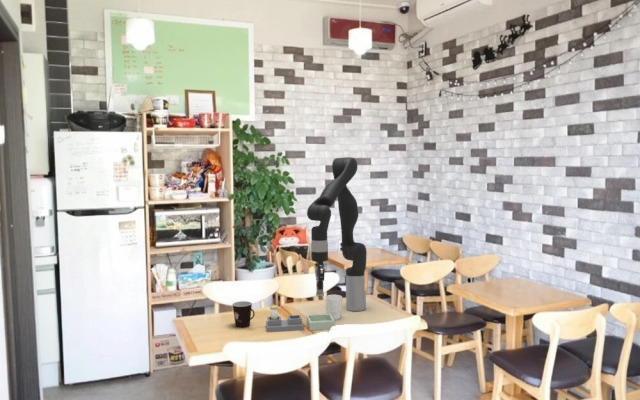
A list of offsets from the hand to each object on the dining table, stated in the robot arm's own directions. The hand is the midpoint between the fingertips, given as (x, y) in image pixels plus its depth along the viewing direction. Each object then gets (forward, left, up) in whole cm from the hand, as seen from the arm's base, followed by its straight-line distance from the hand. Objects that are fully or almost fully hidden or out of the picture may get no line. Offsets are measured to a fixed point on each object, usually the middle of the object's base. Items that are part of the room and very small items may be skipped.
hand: (319, 288), depth 233 cm
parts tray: (0, 0, -17) cm, 17 cm away
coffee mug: (+34, -6, -17) cm, 39 cm away
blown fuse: (0, 0, -3) cm, 3 cm away
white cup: (-8, -11, -17) cm, 22 cm away
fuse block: (+16, -1, -17) cm, 23 cm away
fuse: (+20, -1, -15) cm, 25 cm away
